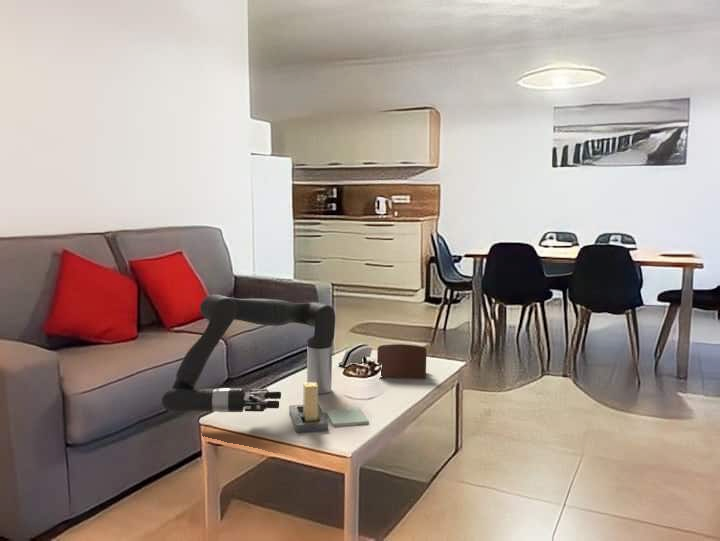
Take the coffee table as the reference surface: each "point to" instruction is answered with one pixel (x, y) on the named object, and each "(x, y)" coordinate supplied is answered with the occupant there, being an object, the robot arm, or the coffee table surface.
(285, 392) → the coffee table surface
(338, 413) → the pad
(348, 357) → the grey curved piece
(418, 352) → the letter holder
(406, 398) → the coffee table surface
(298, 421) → the frame with square holes
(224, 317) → the robot arm
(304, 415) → the plug
